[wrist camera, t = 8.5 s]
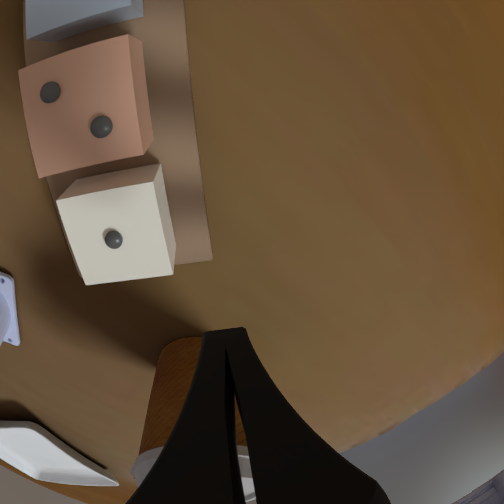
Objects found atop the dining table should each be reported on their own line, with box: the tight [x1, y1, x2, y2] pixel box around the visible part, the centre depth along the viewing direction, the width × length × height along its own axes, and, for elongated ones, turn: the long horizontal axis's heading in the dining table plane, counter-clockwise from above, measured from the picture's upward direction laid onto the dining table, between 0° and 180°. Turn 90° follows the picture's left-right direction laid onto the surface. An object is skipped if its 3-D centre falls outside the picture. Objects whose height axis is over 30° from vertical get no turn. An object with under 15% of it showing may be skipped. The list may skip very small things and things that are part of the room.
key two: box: [18, 34, 154, 178], centre depth 11 cm, size 5×5×3 cm
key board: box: [23, 0, 213, 277], centre depth 13 cm, size 21×9×3 cm, turn 4°
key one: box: [56, 163, 176, 285], centre depth 16 cm, size 5×5×3 cm
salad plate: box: [0, 421, 119, 486], centre depth 33 cm, size 21×21×3 cm
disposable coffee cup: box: [131, 337, 256, 502], centre depth 21 cm, size 10×10×12 cm
